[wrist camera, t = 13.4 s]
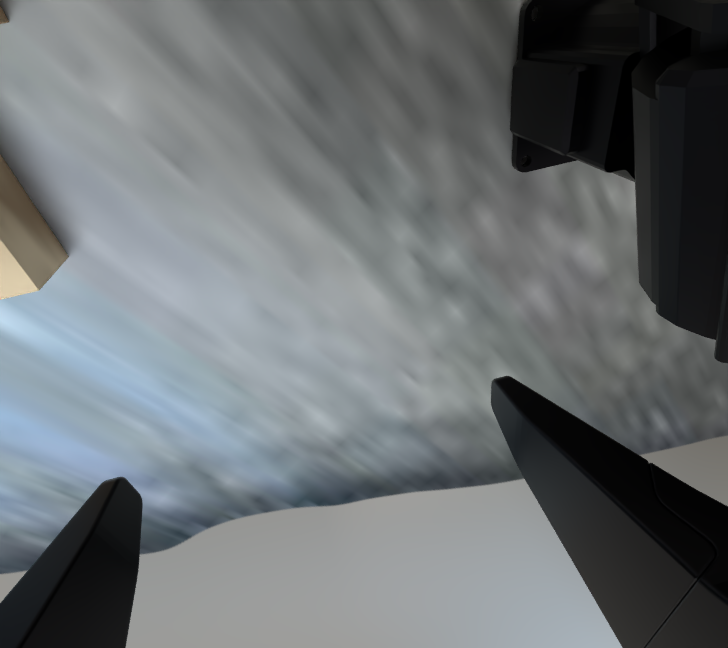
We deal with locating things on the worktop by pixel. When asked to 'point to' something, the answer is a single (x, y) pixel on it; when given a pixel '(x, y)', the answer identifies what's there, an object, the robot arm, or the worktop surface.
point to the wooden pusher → (23, 237)
